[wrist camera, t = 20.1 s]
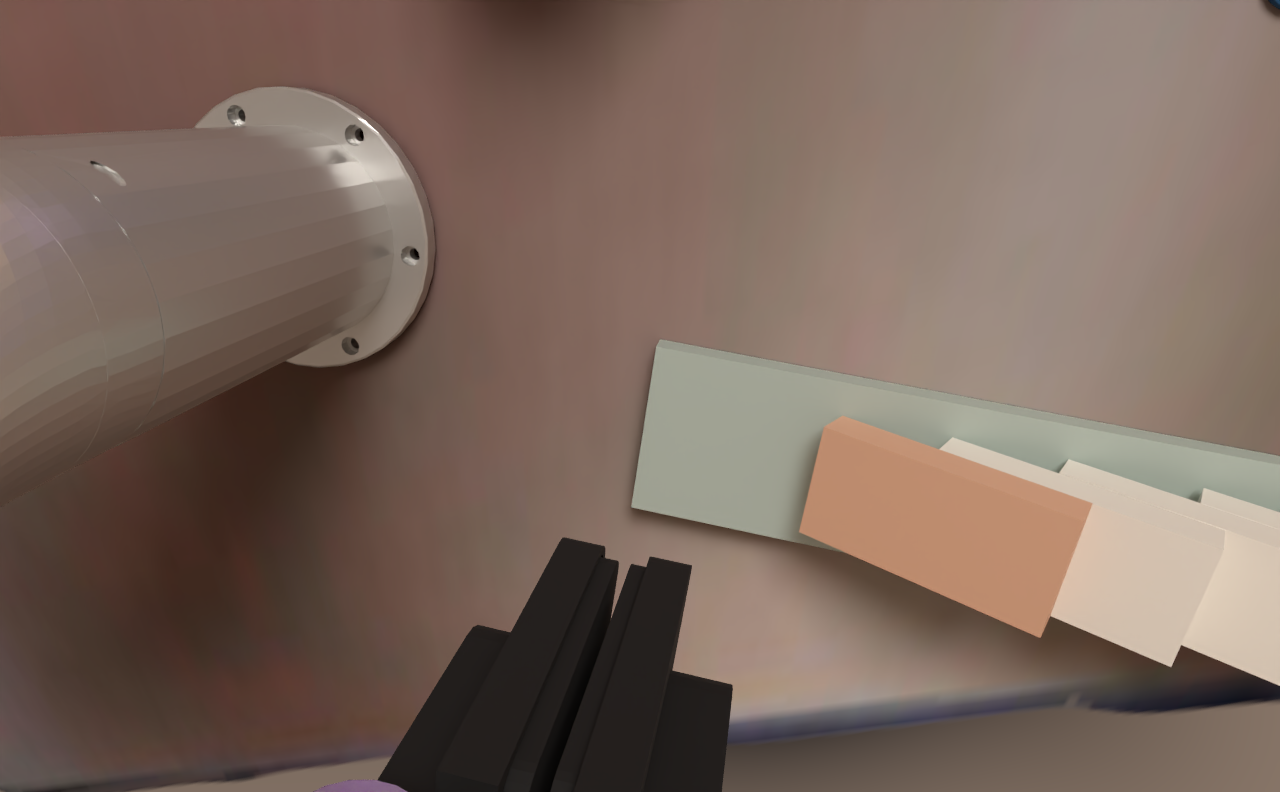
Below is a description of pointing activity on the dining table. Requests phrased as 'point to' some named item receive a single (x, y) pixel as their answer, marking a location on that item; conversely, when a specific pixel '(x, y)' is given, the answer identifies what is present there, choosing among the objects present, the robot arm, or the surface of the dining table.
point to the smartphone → (1275, 3)
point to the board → (812, 398)
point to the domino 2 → (1124, 562)
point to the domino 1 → (944, 522)
